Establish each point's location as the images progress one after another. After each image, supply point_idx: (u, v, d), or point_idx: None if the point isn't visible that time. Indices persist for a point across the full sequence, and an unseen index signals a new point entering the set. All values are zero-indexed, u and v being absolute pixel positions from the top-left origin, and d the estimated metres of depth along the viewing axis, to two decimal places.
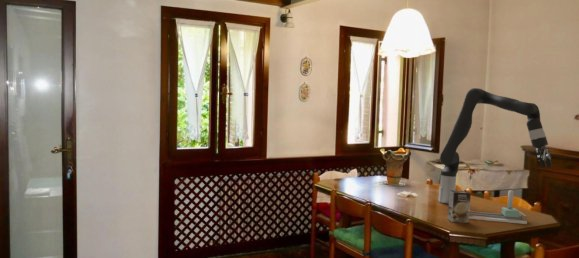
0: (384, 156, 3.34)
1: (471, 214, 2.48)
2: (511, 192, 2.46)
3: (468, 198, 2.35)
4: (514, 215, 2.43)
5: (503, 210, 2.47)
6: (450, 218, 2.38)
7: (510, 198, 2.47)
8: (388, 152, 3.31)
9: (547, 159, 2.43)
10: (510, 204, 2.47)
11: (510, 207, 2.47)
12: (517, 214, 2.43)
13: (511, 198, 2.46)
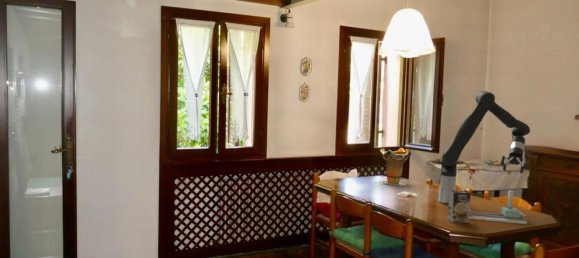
0: (384, 156, 3.34)
1: (471, 214, 2.48)
2: (511, 192, 2.46)
3: (468, 198, 2.35)
4: (514, 215, 2.43)
5: (503, 210, 2.47)
6: (450, 218, 2.38)
7: (510, 198, 2.47)
8: (388, 152, 3.31)
9: (506, 165, 2.65)
10: (510, 204, 2.47)
11: (510, 207, 2.47)
12: (517, 214, 2.43)
13: (511, 198, 2.46)
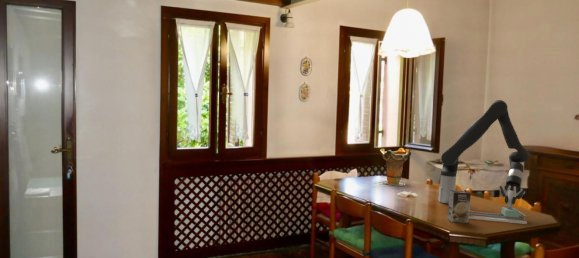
0: (384, 156, 3.34)
1: (471, 214, 2.48)
2: (511, 192, 2.46)
3: (468, 198, 2.35)
4: (514, 215, 2.43)
5: (503, 210, 2.47)
6: (450, 218, 2.38)
7: (510, 198, 2.47)
8: (388, 152, 3.31)
9: (507, 196, 2.49)
10: (510, 204, 2.47)
11: (510, 207, 2.47)
12: (517, 214, 2.43)
13: (511, 198, 2.46)
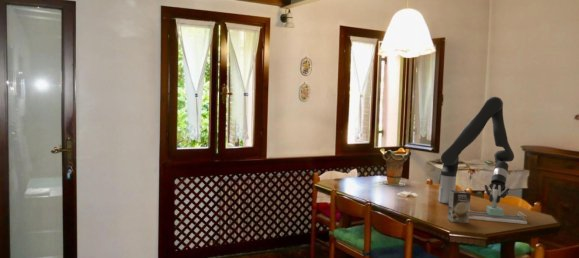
0: (384, 156, 3.34)
1: (471, 214, 2.48)
2: (495, 191, 2.48)
3: (468, 198, 2.35)
4: (498, 214, 2.45)
5: (488, 209, 2.49)
6: (450, 218, 2.38)
7: (495, 197, 2.48)
8: (388, 152, 3.31)
9: (492, 195, 2.50)
10: (495, 203, 2.48)
11: (495, 206, 2.48)
12: (501, 213, 2.44)
13: (495, 197, 2.48)
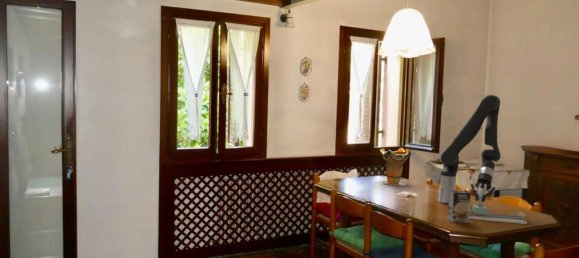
0: (384, 156, 3.34)
1: (471, 214, 2.48)
2: (481, 190, 2.49)
3: (468, 198, 2.35)
4: (484, 212, 2.46)
5: (473, 207, 2.50)
6: (450, 218, 2.38)
7: (480, 196, 2.49)
8: (388, 152, 3.31)
9: None
10: (480, 201, 2.49)
11: (480, 204, 2.49)
12: (487, 211, 2.45)
13: (481, 196, 2.49)
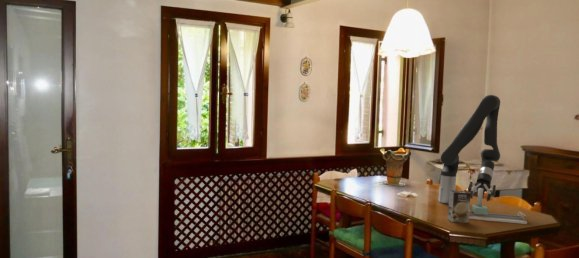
0: (384, 156, 3.34)
1: (471, 214, 2.48)
2: (481, 190, 2.49)
3: (468, 198, 2.35)
4: (483, 212, 2.46)
5: (473, 207, 2.50)
6: (450, 218, 2.38)
7: (480, 195, 2.49)
8: (388, 152, 3.31)
9: (473, 192, 2.54)
10: (480, 201, 2.49)
11: (480, 204, 2.49)
12: (486, 211, 2.46)
13: (481, 195, 2.49)
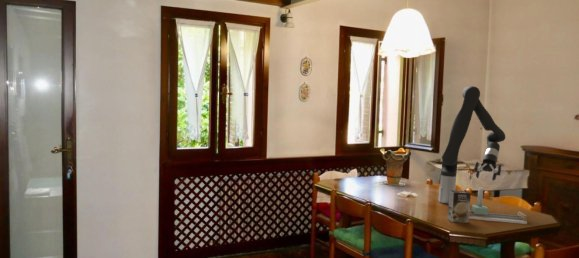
0: (384, 156, 3.34)
1: (471, 214, 2.48)
2: (481, 190, 2.49)
3: (468, 198, 2.35)
4: (483, 212, 2.46)
5: (473, 207, 2.50)
6: (450, 218, 2.38)
7: (480, 195, 2.49)
8: (388, 152, 3.31)
9: (479, 172, 2.64)
10: (480, 201, 2.49)
11: (480, 204, 2.49)
12: (486, 211, 2.46)
13: (481, 195, 2.49)
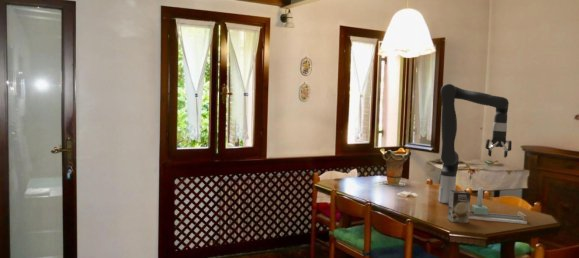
0: (384, 156, 3.34)
1: (471, 214, 2.48)
2: (481, 190, 2.49)
3: (468, 198, 2.35)
4: (483, 212, 2.46)
5: (473, 207, 2.50)
6: (450, 218, 2.38)
7: (480, 195, 2.49)
8: (388, 152, 3.31)
9: None
10: (480, 201, 2.49)
11: (480, 204, 2.49)
12: (486, 211, 2.46)
13: (481, 195, 2.49)
